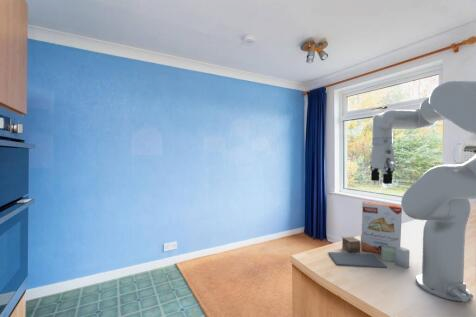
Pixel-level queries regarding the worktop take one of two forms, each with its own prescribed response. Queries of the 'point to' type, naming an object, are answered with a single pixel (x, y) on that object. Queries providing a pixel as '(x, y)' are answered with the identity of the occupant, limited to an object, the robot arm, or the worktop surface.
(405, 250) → the grey rounded capsule
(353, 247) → the walnut block
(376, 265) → the mat
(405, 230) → the worktop surface
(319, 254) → the worktop surface
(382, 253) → the sage block
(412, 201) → the robot arm
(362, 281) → the worktop surface
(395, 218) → the cracker box
